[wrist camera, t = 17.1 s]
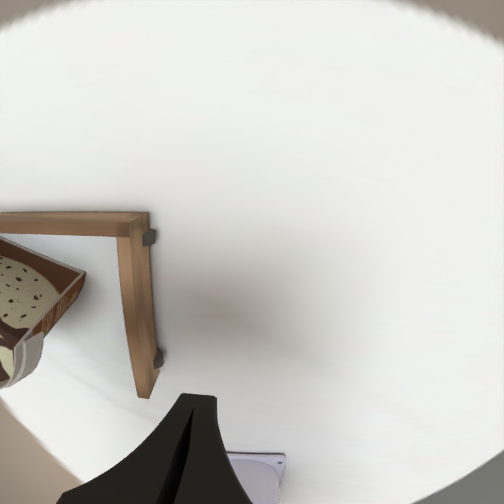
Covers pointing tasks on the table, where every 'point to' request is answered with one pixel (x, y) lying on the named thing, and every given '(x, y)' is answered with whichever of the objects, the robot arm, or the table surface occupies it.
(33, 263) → the food container
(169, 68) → the table surface
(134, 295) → the wooden u-shaped frame
